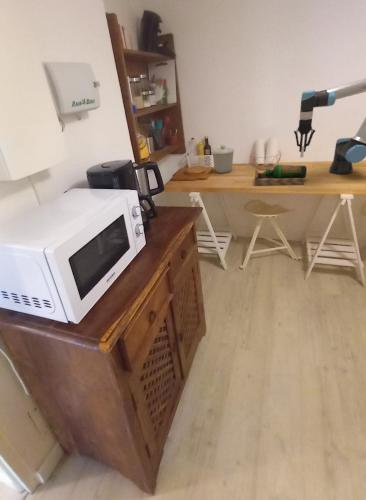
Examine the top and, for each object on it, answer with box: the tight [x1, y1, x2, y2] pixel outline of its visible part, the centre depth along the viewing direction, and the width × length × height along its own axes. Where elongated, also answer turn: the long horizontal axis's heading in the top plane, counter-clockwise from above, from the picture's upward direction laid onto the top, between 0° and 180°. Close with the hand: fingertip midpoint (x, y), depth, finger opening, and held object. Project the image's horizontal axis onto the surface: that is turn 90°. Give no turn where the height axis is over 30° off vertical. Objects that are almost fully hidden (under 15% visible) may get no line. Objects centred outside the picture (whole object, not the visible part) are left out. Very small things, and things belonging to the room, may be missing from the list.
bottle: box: [262, 164, 307, 179], centre depth 204 cm, size 11×11×28 cm
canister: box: [211, 144, 235, 174], centre depth 236 cm, size 18×18×21 cm
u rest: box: [254, 169, 305, 187], centre depth 205 cm, size 32×17×6 cm, turn 77°
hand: (301, 156), depth 195 cm, fingers closed
